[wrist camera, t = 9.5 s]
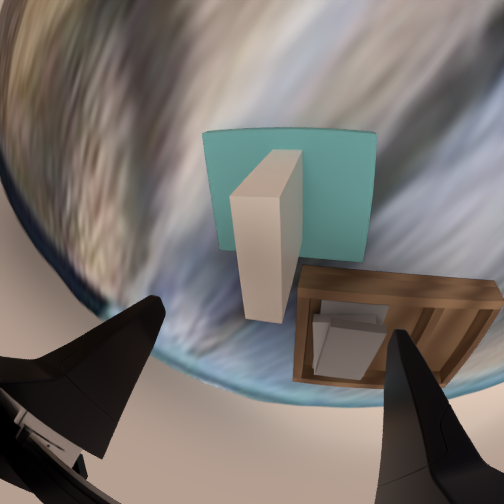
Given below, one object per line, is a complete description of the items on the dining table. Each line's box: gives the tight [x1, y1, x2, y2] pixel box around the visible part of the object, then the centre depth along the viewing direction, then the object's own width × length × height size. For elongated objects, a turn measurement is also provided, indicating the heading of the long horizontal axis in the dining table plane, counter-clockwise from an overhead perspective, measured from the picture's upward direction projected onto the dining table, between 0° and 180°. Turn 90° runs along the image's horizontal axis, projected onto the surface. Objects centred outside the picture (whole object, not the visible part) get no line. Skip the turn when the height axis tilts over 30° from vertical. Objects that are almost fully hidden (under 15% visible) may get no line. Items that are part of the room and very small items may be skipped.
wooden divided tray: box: [292, 265, 504, 389], centre depth 23 cm, size 20×15×3 cm
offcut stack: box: [312, 300, 389, 380], centre depth 24 cm, size 7×11×3 cm, turn 5°
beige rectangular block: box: [229, 149, 303, 324], centre depth 16 cm, size 2×7×8 cm, turn 5°
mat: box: [202, 127, 377, 262], centre depth 19 cm, size 12×10×1 cm
